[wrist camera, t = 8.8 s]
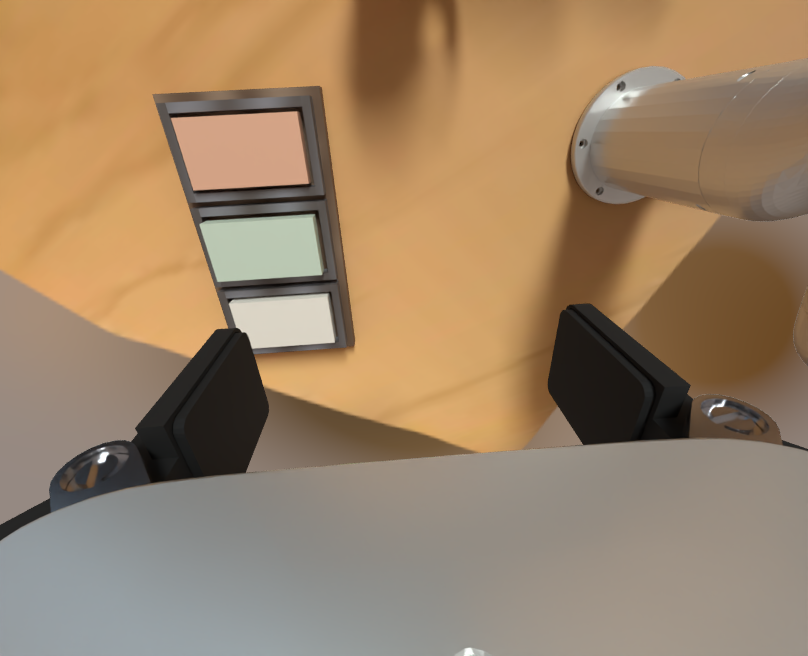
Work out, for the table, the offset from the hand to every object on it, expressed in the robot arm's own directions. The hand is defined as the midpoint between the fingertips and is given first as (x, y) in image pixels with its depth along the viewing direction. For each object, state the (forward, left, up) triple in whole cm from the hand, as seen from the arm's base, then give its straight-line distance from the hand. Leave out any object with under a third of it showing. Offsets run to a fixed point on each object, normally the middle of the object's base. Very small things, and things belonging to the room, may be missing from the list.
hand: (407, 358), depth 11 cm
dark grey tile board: (+13, +4, -32) cm, 35 cm away
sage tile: (+13, +4, -29) cm, 32 cm away
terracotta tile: (+13, -5, -30) cm, 33 cm away
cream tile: (+13, +13, -30) cm, 35 cm away
